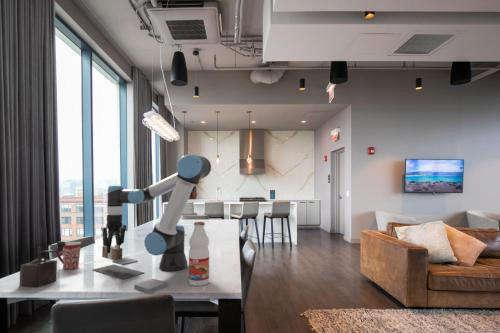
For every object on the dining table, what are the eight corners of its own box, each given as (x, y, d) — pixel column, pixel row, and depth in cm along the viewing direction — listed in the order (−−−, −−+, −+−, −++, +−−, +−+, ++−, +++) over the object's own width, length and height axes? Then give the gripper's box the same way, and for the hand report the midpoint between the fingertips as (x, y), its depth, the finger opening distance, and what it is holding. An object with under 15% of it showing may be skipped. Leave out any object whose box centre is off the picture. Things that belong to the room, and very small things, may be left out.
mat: (113, 265, 167) (113, 264, 167) (144, 273, 151) (144, 272, 151) (92, 270, 157) (92, 269, 157) (122, 279, 141) (122, 278, 141)
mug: (84, 265, 166) (84, 241, 167) (73, 270, 157) (74, 245, 157) (62, 265, 166) (63, 241, 167) (51, 270, 157) (51, 244, 158)
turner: (97, 257, 158) (98, 246, 158) (111, 255, 164) (112, 244, 165) (123, 265, 144) (124, 253, 145) (137, 262, 151) (138, 250, 151)
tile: (153, 278, 138) (167, 282, 132) (153, 283, 138) (167, 287, 132) (134, 284, 129) (148, 289, 124) (134, 289, 129) (148, 294, 124)
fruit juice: (212, 280, 139) (212, 221, 141) (204, 287, 130) (204, 224, 132) (194, 278, 142) (194, 220, 144) (185, 285, 133) (185, 223, 134)
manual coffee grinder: (38, 287, 131) (40, 247, 132) (18, 286, 133) (20, 246, 134) (66, 276, 146) (68, 240, 147) (48, 275, 148) (49, 239, 149)
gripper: (124, 212, 167) (122, 254, 165) (96, 214, 153) (94, 260, 152) (132, 213, 162) (130, 256, 161) (104, 215, 149) (102, 262, 148)
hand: (113, 258), depth 157 cm, fingers closed on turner, 3 cm apart
